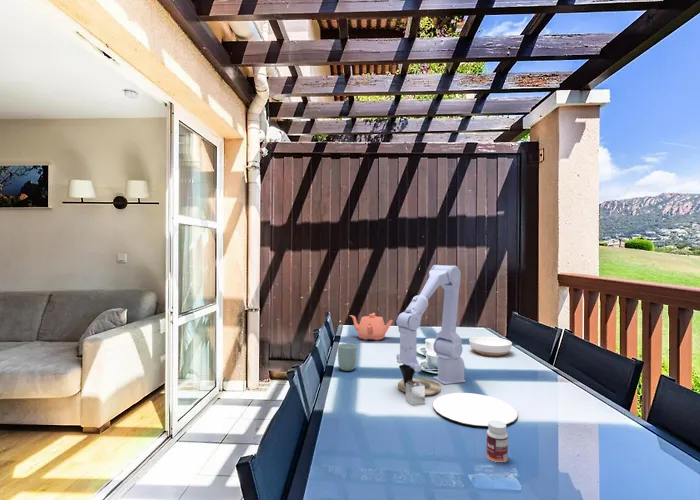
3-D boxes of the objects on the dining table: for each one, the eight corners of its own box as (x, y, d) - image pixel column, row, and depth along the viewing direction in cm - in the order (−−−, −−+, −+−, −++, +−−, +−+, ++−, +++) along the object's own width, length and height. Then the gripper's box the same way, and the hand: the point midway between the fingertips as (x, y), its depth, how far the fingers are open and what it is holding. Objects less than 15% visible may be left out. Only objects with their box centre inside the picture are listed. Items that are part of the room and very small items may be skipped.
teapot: (348, 337, 221) (348, 313, 221) (373, 333, 232) (374, 310, 232) (368, 344, 206) (369, 318, 206) (394, 339, 217) (394, 314, 217)
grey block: (417, 399, 131) (417, 380, 131) (424, 404, 127) (424, 384, 127) (405, 400, 129) (405, 381, 129) (412, 406, 125) (412, 386, 125)
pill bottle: (483, 454, 96) (483, 419, 96) (501, 453, 96) (502, 419, 96) (491, 464, 91) (492, 428, 91) (511, 463, 92) (511, 428, 92)
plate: (473, 438, 104) (473, 432, 104) (416, 405, 127) (416, 399, 127) (536, 420, 116) (536, 414, 116) (473, 392, 138) (473, 387, 138)
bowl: (515, 352, 193) (515, 339, 193) (507, 361, 176) (507, 347, 176) (475, 346, 203) (475, 334, 203) (464, 355, 187) (464, 342, 187)
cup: (354, 373, 158) (354, 348, 158) (335, 371, 160) (335, 347, 160) (358, 367, 166) (358, 343, 166) (340, 366, 167) (340, 342, 167)
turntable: (411, 377, 150) (411, 367, 150) (448, 386, 141) (448, 376, 141) (389, 388, 139) (389, 377, 139) (427, 398, 129) (427, 387, 129)
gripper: (389, 343, 142) (388, 380, 142) (407, 353, 128) (407, 394, 128) (406, 341, 144) (406, 378, 144) (426, 351, 131) (426, 392, 131)
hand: (408, 386), depth 137 cm, fingers closed, pressing on turntable
